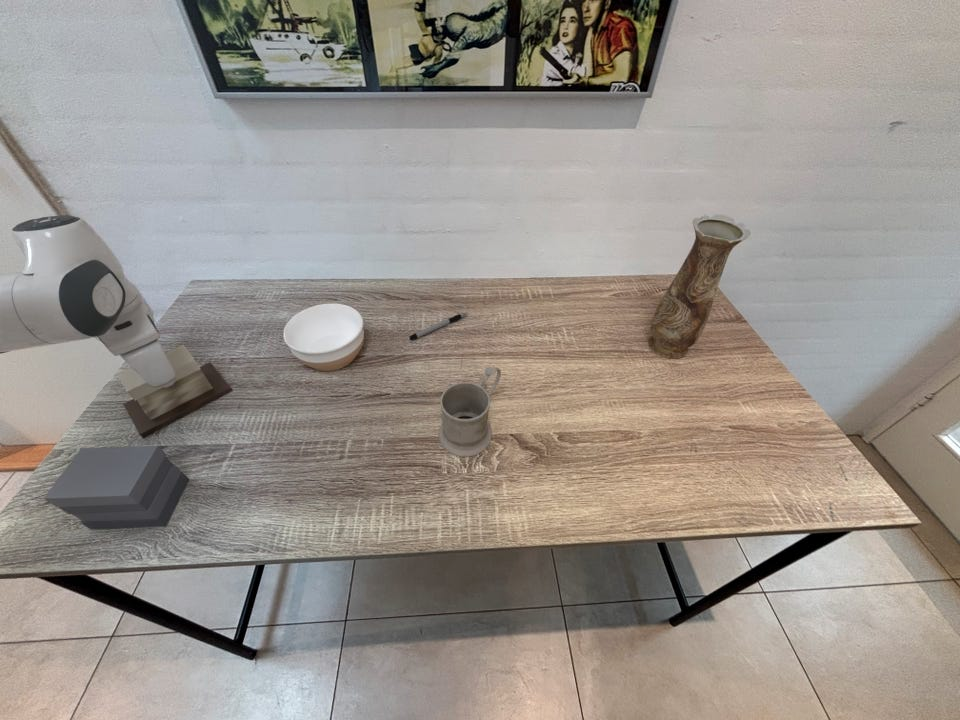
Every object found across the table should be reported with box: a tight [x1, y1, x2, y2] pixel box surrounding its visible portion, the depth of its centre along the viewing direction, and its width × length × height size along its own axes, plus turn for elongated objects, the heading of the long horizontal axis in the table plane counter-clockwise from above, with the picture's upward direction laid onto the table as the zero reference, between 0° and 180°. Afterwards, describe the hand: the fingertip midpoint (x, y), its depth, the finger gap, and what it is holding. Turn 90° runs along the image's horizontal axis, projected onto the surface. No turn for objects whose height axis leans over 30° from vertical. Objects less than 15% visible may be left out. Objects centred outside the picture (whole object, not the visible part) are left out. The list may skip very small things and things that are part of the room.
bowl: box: [282, 303, 365, 372], centre depth 88 cm, size 16×16×8 cm
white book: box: [116, 344, 201, 401], centre depth 75 cm, size 11×6×2 cm, turn 136°
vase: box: [647, 214, 751, 360], centre depth 85 cm, size 10×11×30 cm
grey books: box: [43, 445, 190, 531], centre depth 62 cm, size 11×8×10 cm
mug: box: [438, 366, 502, 458], centre depth 73 cm, size 14×10×12 cm
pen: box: [409, 311, 468, 341], centre depth 97 cm, size 1×16×1 cm, turn 127°
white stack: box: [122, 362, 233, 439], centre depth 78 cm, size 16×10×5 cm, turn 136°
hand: (161, 373), depth 75 cm, fingers closed on white book, 6 cm apart
